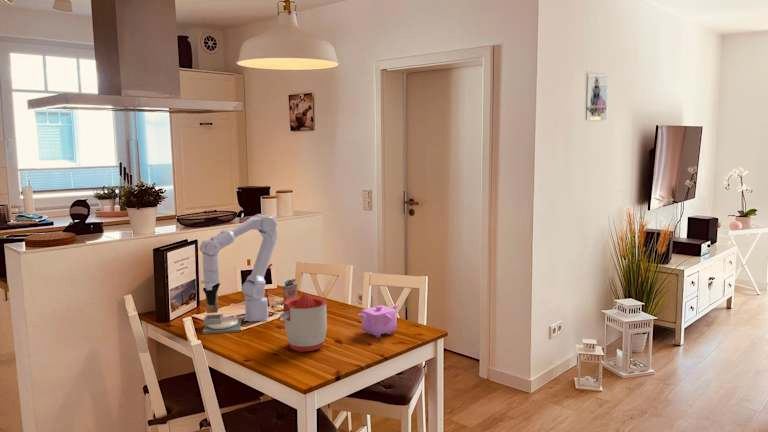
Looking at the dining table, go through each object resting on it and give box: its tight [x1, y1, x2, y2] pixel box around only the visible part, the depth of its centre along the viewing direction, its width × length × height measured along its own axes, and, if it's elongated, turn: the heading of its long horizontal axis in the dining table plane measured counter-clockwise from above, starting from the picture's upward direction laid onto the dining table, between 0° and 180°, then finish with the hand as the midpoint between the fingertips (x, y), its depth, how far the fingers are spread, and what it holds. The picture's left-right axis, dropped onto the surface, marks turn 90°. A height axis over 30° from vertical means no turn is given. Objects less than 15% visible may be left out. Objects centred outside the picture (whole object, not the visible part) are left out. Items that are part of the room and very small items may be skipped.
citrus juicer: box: [279, 293, 328, 353], centre depth 217 cm, size 16×17×20 cm
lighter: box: [282, 278, 298, 303], centre depth 279 cm, size 8×3×10 cm, turn 143°
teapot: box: [357, 304, 400, 338], centre depth 232 cm, size 15×13×11 cm
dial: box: [203, 313, 239, 329], centre depth 242 cm, size 13×12×3 cm
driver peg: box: [205, 292, 219, 314], centre depth 240 cm, size 4×4×8 cm
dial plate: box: [201, 318, 243, 335], centre depth 242 cm, size 14×14×1 cm
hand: (212, 303), depth 240 cm, fingers closed on driver peg, 4 cm apart
